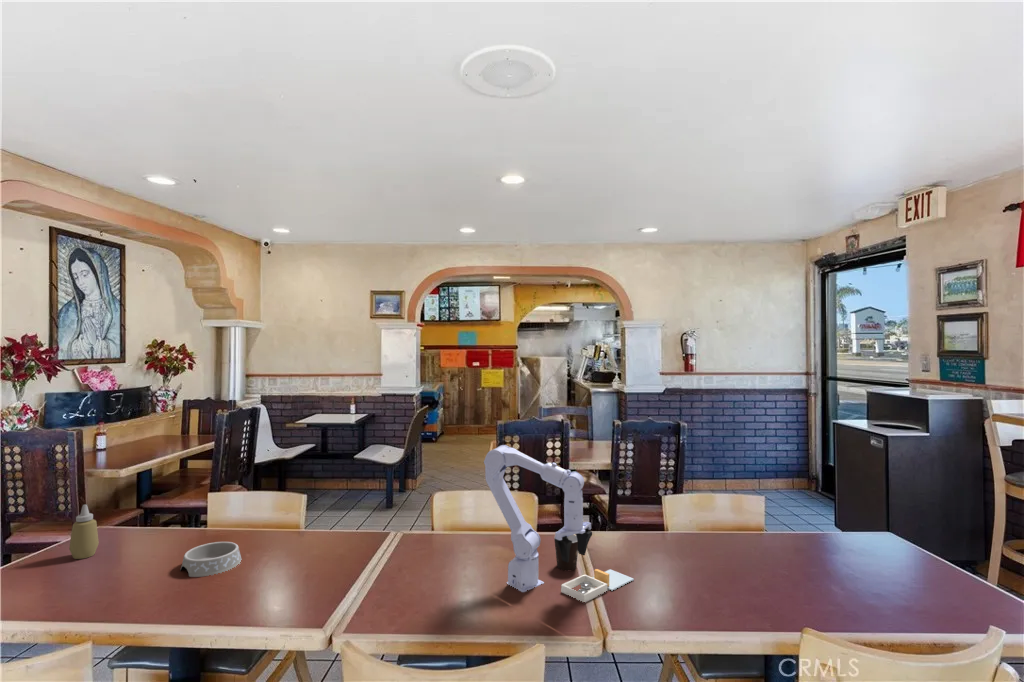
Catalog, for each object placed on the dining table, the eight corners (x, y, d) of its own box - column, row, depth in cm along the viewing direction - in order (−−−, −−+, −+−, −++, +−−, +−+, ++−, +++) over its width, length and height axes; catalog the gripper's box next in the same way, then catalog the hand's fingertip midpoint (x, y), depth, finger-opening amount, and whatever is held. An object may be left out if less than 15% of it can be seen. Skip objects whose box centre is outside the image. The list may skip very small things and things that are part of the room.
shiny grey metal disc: (581, 598, 155) (581, 594, 155) (575, 593, 157) (575, 590, 158) (590, 595, 156) (590, 592, 156) (584, 591, 159) (583, 588, 159)
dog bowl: (196, 582, 164) (196, 565, 164) (172, 567, 175) (172, 551, 175) (250, 564, 178) (250, 548, 178) (224, 551, 189) (224, 536, 189)
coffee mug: (571, 575, 171) (571, 545, 171) (549, 568, 176) (549, 539, 176) (588, 563, 180) (588, 534, 180) (566, 557, 185) (567, 529, 185)
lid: (612, 593, 159) (612, 577, 159) (588, 583, 166) (588, 567, 166) (633, 582, 167) (634, 567, 167) (610, 573, 174) (610, 558, 174)
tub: (584, 604, 152) (584, 595, 152) (561, 593, 158) (561, 584, 159) (607, 592, 159) (607, 584, 159) (584, 582, 166) (584, 574, 166)
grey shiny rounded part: (592, 589, 160) (592, 586, 160) (582, 590, 160) (582, 587, 160) (588, 584, 164) (588, 581, 164) (579, 585, 163) (579, 582, 163)
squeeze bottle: (85, 561, 179) (86, 508, 179) (62, 560, 179) (63, 508, 179) (104, 551, 187) (105, 501, 187) (82, 551, 187) (83, 501, 187)
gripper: (567, 521, 152) (567, 568, 152) (598, 511, 162) (598, 555, 162) (550, 516, 157) (550, 561, 157) (581, 506, 167) (581, 548, 167)
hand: (573, 557), depth 160 cm, fingers open, 7 cm apart
